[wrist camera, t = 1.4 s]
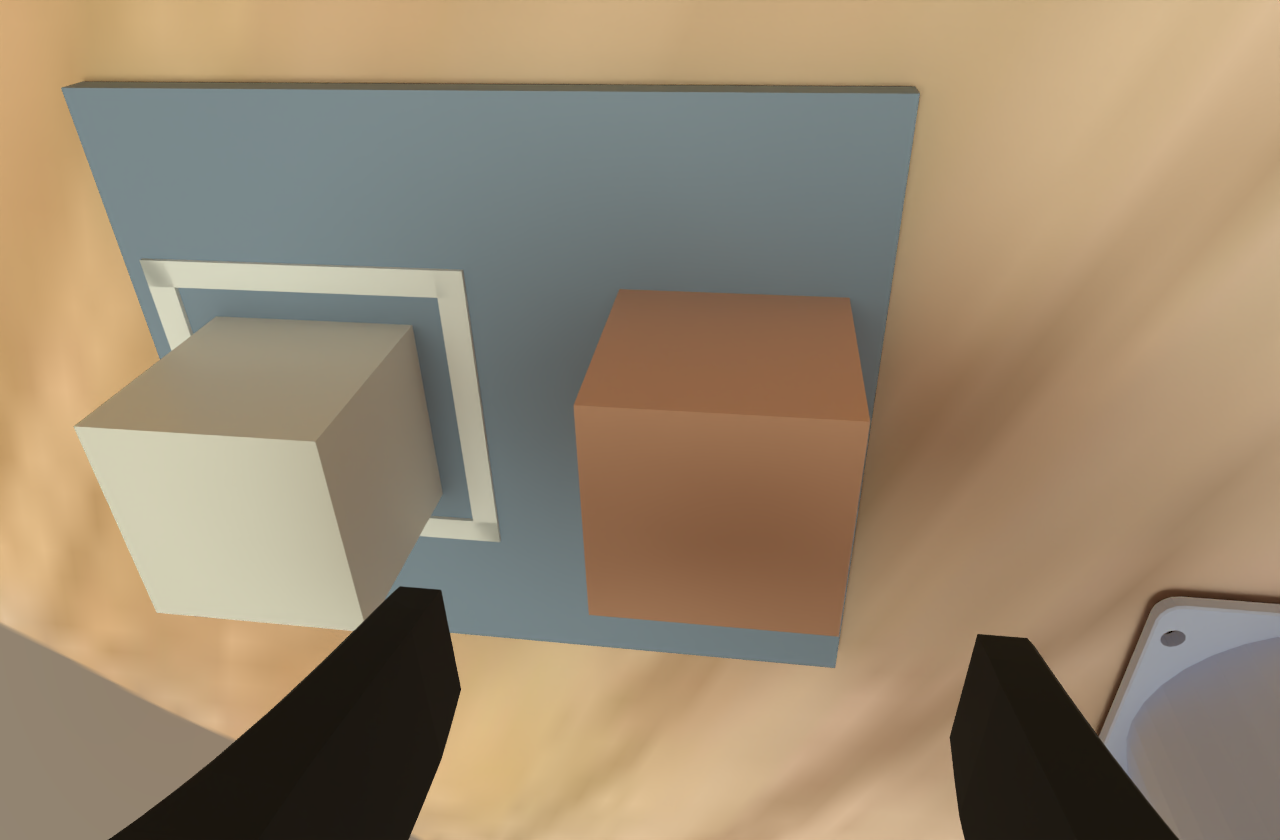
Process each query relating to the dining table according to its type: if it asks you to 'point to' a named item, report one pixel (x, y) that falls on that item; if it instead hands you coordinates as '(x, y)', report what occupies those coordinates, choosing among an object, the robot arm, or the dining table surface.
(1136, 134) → the dining table surface
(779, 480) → the top block
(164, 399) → the base block
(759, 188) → the board
